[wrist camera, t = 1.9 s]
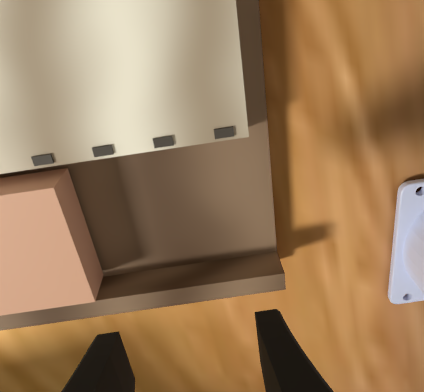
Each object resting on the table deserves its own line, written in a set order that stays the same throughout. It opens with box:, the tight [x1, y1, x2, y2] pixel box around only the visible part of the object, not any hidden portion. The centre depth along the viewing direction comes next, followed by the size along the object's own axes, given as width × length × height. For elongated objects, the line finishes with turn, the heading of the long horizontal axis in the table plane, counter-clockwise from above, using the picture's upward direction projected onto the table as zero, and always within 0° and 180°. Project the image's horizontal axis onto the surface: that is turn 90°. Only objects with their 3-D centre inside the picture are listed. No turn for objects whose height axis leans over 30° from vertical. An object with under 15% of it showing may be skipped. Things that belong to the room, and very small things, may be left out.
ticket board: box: [0, 0, 286, 330], centre depth 17 cm, size 22×15×3 cm
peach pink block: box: [0, 168, 103, 316], centre depth 18 cm, size 6×6×2 cm
